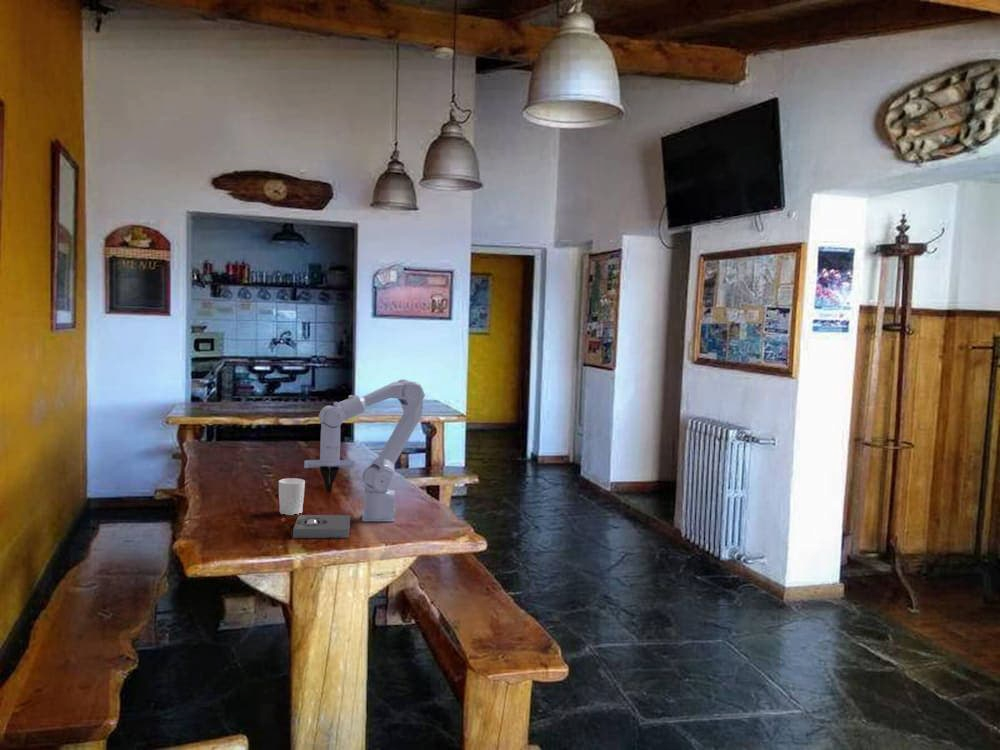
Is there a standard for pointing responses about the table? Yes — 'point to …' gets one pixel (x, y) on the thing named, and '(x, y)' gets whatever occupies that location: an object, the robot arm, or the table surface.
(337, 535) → the hole plate
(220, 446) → the table surface
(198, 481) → the table surface
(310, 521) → the steel ball
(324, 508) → the table surface
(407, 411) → the robot arm
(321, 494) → the table surface
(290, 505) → the white cup
